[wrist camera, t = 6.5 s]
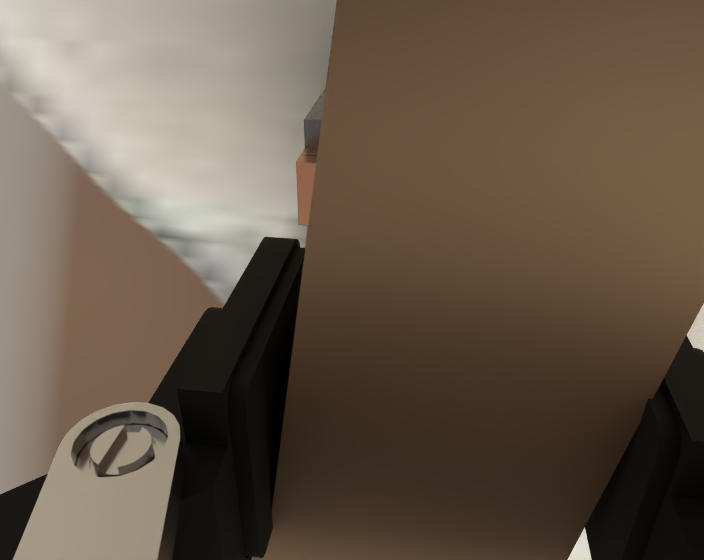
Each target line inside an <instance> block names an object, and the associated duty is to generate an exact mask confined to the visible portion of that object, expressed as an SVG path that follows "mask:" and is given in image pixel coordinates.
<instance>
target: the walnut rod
mask: <svg viewBox="0 0 704 560" xmlns="http://www.w3.org/2000/svg"><path fill="white" fill-rule="evenodd" d="M703 303H704V0H337V5H336V13H335V20H334V28H333V36H332V44H331V52H330V60H329V67H328V75H327V83H326V91H325V99H324V106H323V114H322V122H321V130H320V138H319V145H318V153H317V161H316V169H315V177H314V184H313V192H312V200H311V208H310V216H309V223H308V231H307V239H306V247H305V255H304V262H303V270H302V278H301V286H300V294H299V301H298V309H297V317H296V325H295V333H294V340H293V348H292V356H291V364H290V372H289V379H288V387H287V395H286V403H285V411H284V419H283V426H282V434H281V442H280V450H279V458H278V465H277V473H276V481H275V489H274V497H273V504H272V524H273V530H272V533H271V536H270V540H269V543H268V547H267V551H266V559H265V560H567V559H568V557H569V555H570V554H571V552H572V550H573V548H574V546H575V544H576V542H577V540H578V539H579V537H580V535H581V533H582V531H583V529H584V527H585V525H586V523H587V522H588V520H589V518H590V516H591V514H592V512H593V510H594V508H595V506H596V505H597V503H598V501H599V499H600V497H601V495H602V493H603V491H604V490H605V488H606V486H607V484H608V482H609V480H610V478H611V476H612V474H613V473H614V471H615V469H616V467H617V465H618V463H619V461H620V459H621V458H622V456H623V454H624V452H625V450H626V448H627V446H628V444H629V442H630V441H631V439H632V437H633V435H634V433H635V431H636V429H637V427H638V425H639V424H640V422H641V419H642V416H643V412H644V409H645V406H646V403H647V400H648V398H650V399H653V397H654V395H655V393H656V392H657V390H658V388H659V386H660V384H661V382H662V380H663V378H664V377H665V375H666V373H667V371H668V369H669V367H670V365H671V363H672V361H673V360H674V358H675V356H676V354H677V352H678V350H679V348H680V346H681V344H682V343H683V341H684V339H685V337H686V335H687V333H688V331H689V329H690V328H691V326H692V324H693V322H694V320H695V318H696V316H697V314H698V312H699V311H700V309H701V307H702V305H703Z"/></svg>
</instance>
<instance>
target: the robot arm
mask: <svg viewBox="0 0 704 560" xmlns="http://www.w3.org/2000/svg"><path fill="white" fill-rule="evenodd" d="M304 255H305V248H300V244H299V241H298V239H288V238H274V237H264V239H263V240H262V242H261V243H260V245H259V247H258V249H257V250H256V252H255V254H254V256H253V257H252V259H251V261H250V262H249V264H248V266H247V268H246V269H245V271H244V273H243V275H242V276H241V278H240V280H239V281H238V283H237V285H236V287H235V288H234V290H233V292H232V294H231V295H230V297H229V299H228V301H227V302H226V304H225V306H224V307H223V308H214V307H211V308H208V309H207V310H206V311H205V312H204V314H203V315H202V317H201V318H200V320H199V322H198V323H197V325H196V327H195V328H194V330H193V332H192V333H191V335H190V336H189V338H188V340H187V341H186V343H185V344H184V346H183V348H182V349H181V351H180V352H179V354H178V356H177V357H176V359H175V361H174V362H173V364H172V365H171V367H170V369H169V370H168V372H167V374H166V375H165V377H164V378H163V380H162V382H161V383H160V385H159V386H158V388H157V390H156V391H155V393H154V394H153V396H152V398H151V399H150V401H149V403H136V402H134V403H133V402H131V403H125V404H118V405H113V406H110V407H107V408H105V409H102V410H99V411H97V412H95V413H93V414H91V415H89V416H88V417H86V418H84V419H83V420H81V421H80V422H79V423H77V424H76V425H75V426H74V427H73V428H72V429H71V430H70V431H69V432H68V433H67V434H66V436H65V438H64V439H63V441H62V442H61V444H60V446H59V448H58V450H57V453H56V455H55V458H54V461H53V463H52V465H51V468H50V470H49V473H48V474H46V475H44V476H41V477H39V478H37V479H35V480H32V481H30V482H28V483H26V484H23V485H21V486H19V487H16V488H14V489H12V490H10V491H7V492H5V493H3V494H0V560H251V559H252V557H259V558H262V557H264V555H265V553H266V550H267V547H268V543H269V540H270V536H271V533H272V530H273V524H272V504H273V497H274V489H275V481H276V473H277V465H278V458H279V450H280V442H281V434H282V426H283V419H284V411H285V403H286V395H287V387H288V379H289V372H290V364H291V356H292V348H293V340H294V333H295V325H296V317H297V309H298V301H299V294H300V286H301V278H302V270H303V262H304ZM585 529H586V534H587V539H588V544H589V548H590V553H591V558H592V560H704V352H703V351H702V350H700V349H697V348H693V347H692V345H691V343H690V341H689V339H688V337H687V335H686V337H685V339H684V341H683V343H682V344H681V346H680V348H679V350H678V352H677V354H676V356H675V358H674V360H673V361H672V363H671V365H670V367H669V369H668V371H667V373H666V375H665V377H664V378H663V380H662V382H661V384H660V386H659V388H658V390H657V392H656V393H655V395H654V397H653V399H650V398H648V400H647V403H646V406H645V409H644V412H643V416H642V419H641V422H640V424H639V425H638V427H637V429H636V431H635V433H634V435H633V437H632V439H631V441H630V442H629V444H628V446H627V448H626V450H625V452H624V454H623V456H622V458H621V459H620V461H619V463H618V465H617V467H616V469H615V471H614V473H613V474H612V476H611V478H610V480H609V482H608V484H607V486H606V488H605V490H604V491H603V493H602V495H601V497H600V499H599V501H598V503H597V505H596V506H595V508H594V510H593V512H592V514H591V516H590V518H589V520H588V522H587V523H586V525H585Z"/></svg>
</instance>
